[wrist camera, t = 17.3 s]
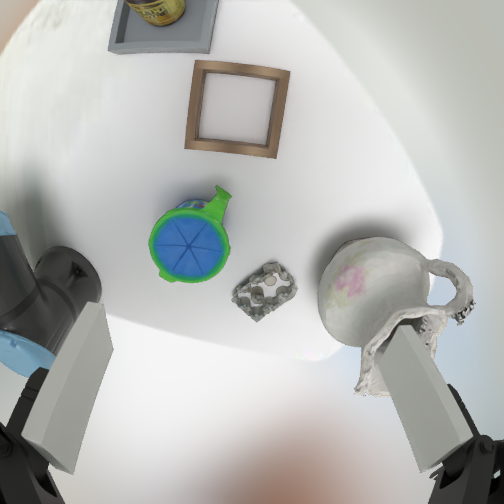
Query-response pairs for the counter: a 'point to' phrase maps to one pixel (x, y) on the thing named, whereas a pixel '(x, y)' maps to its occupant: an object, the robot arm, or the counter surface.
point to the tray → (164, 30)
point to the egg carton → (258, 296)
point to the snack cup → (191, 240)
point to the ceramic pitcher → (385, 301)
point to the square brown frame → (233, 146)
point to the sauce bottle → (158, 10)
